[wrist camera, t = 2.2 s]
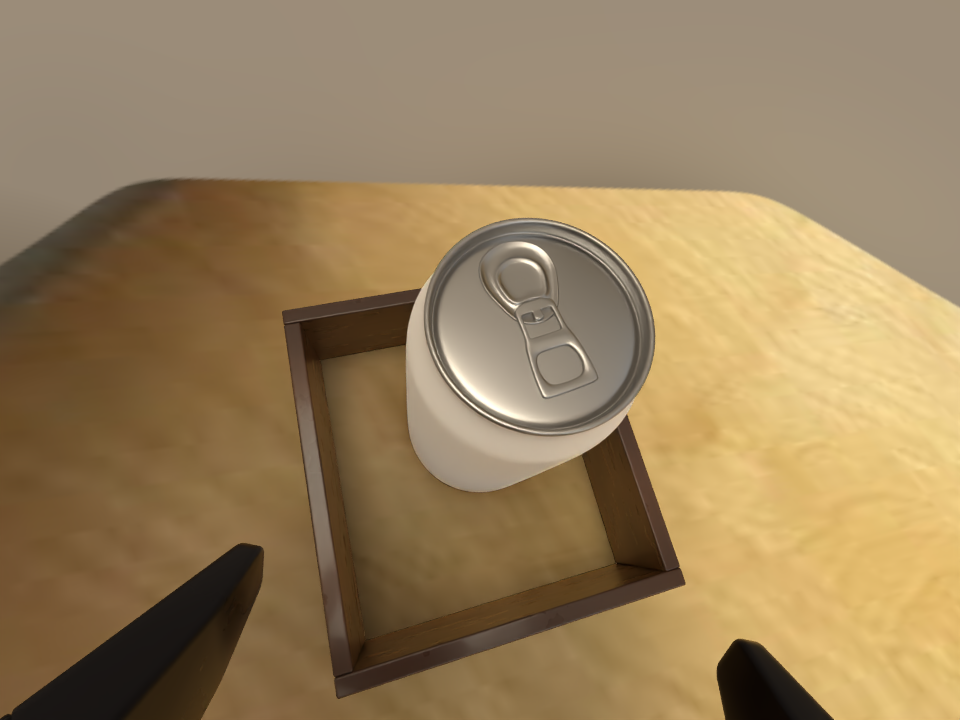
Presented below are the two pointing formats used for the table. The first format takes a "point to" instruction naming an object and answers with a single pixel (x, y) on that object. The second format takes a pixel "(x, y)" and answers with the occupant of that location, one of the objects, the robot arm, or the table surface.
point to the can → (523, 352)
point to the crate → (405, 652)
